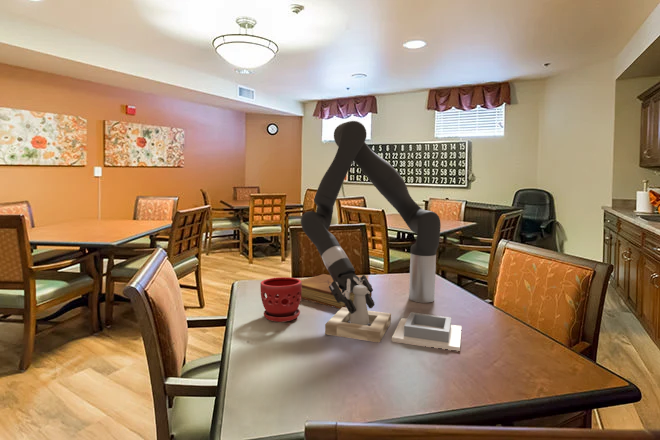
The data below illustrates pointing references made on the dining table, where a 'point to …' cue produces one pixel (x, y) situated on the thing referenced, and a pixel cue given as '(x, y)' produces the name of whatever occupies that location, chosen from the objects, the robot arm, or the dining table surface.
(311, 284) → the diary
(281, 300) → the plant pot
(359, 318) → the salt shaker
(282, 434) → the dining table surface
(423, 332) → the socket plate
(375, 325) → the birch holder block
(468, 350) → the dining table surface
